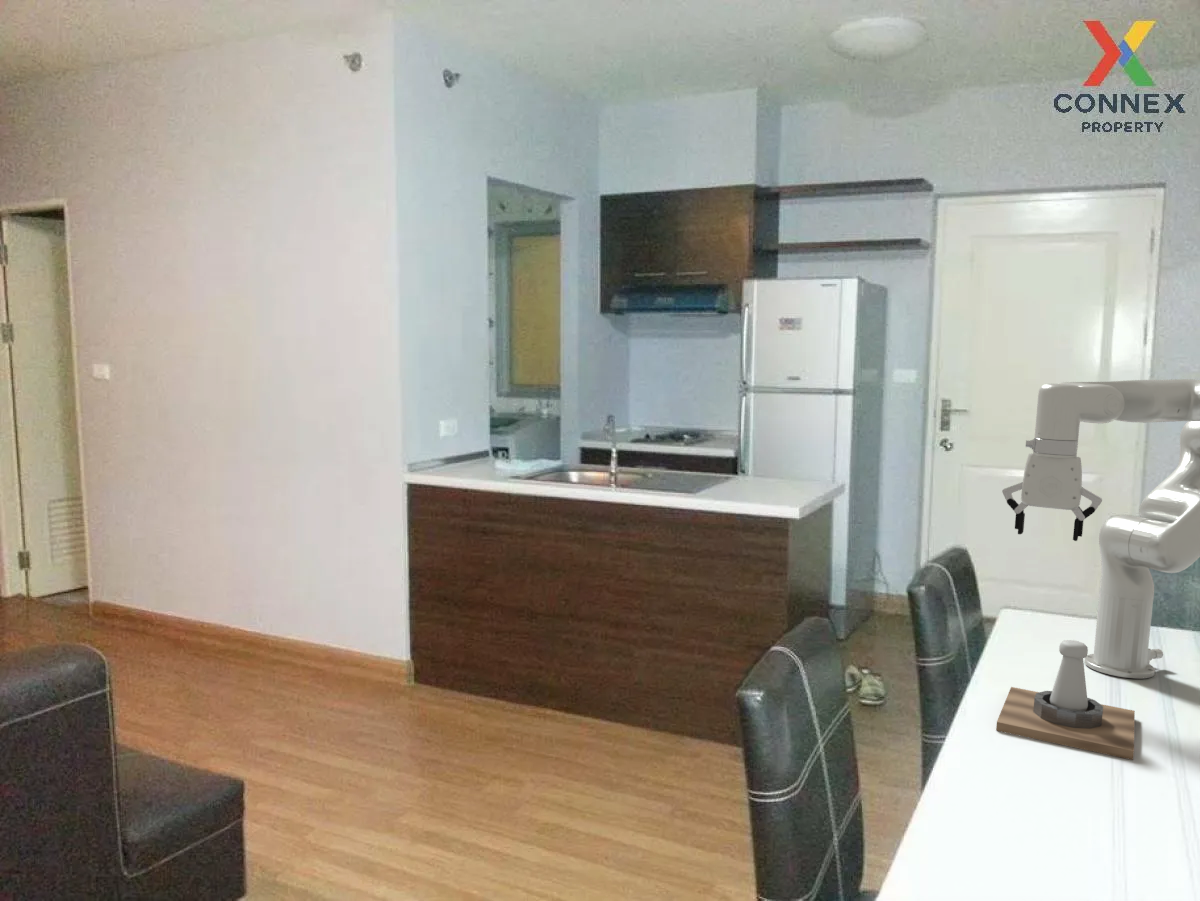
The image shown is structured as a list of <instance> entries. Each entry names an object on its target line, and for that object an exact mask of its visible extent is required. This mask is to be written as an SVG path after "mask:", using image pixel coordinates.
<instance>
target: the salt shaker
mask: <svg viewBox="0 0 1200 901" xmlns="http://www.w3.org/2000/svg"><path fill="white" fill-rule="evenodd" d="M1058 647H1059V648H1058V652H1059V653H1060V655H1062V659H1061V662H1060V665H1059V669H1058V672H1057V675H1056V678H1055V681H1054V685H1053V687H1052V690H1051V691H1052V693H1051V697H1050V703H1051V705H1053V706H1056V707H1058V708H1062V709H1067V710H1072V711H1086V709H1087V707H1088V700H1087V698H1088V693H1087V682H1086V675H1085V674H1086V673H1085V662H1084V659H1085V657H1086V656H1087V655H1089V653H1088V652H1089V649H1088V648H1089V647H1088V646H1087V645H1086V644H1085V643H1084V642H1081V641H1079V640H1075V639H1067V640H1065V639H1064V640H1062V641H1061V642H1060V643H1059V646H1058Z"/></svg>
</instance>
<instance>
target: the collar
mask: <svg viewBox="0 0 1200 901" xmlns="http://www.w3.org/2000/svg"><path fill="white" fill-rule="evenodd" d="M1038 692H1039V693H1036V695H1035V698H1034V709H1033V712H1034V713H1035V714H1036V715H1037V716H1039V717H1040V718H1041V719H1044V720H1046V721H1049V722H1051V723H1054V724H1057V725H1062V726H1067V727H1071V728H1085V729H1092V728H1096V727H1099V726H1101V724H1102V715H1103V706H1102V705H1103V704H1102V703H1099V702H1098V701H1096V700H1095V699H1093V698H1090V697H1087V700H1088V707H1087V709H1086V711H1072V710H1067V709H1062V708H1058V707H1056V706H1053V705H1051V703H1050V697H1051V693H1052V690H1044V691H1038ZM1101 704H1102V705H1101Z"/></svg>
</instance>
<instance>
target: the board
mask: <svg viewBox="0 0 1200 901" xmlns="http://www.w3.org/2000/svg"><path fill="white" fill-rule="evenodd" d="M1039 692H1040V691H1034V690H1030V689H1026V688H1025V689H1024V688H1020V687H1014V686H1011V687H1010V689H1009V691H1008V694H1007V696H1006V699H1005V701H1004V703H1003V705H1002V708H1001V710H1000V712H999V716H998V718H997V720H996V725H995V726H996V727H995V731H996V730H997V731H998V732H1001V731H1002V733H1005V732H1006V733H1005V734H1010V733H1011V734H1010V735H1016V736H1019V735H1020V736H1019V737H1023V738H1024V737H1025V738H1028V737H1029V739H1034V740H1037V741H1043V742H1048V743H1053V744H1056V745H1057V744H1058V745H1061V746H1066V747H1070V748H1075V749H1081V750H1085V751H1089V752H1094V753H1099V754H1103V755H1108V756H1113V757H1117V758H1120V759H1126V760H1131V761H1133V760H1134V755H1135V752H1134V751H1135V718H1136V717H1135V715H1136V714H1135V713H1136V712H1135V710H1133V709H1128V708H1123V707H1117V706H1111V705H1107V704H1102V703H1100V704H1101V705H1102V706H1103V715H1102V724H1101V726H1099V727H1096V728H1092V729H1085V728H1071V727H1067V726H1062V725H1057V724H1054V723H1051V722H1049V721H1046V720H1044V719H1041V718H1040V717H1039V716H1037V715H1036V714H1035V713H1034V712H1033V709H1034V698H1035V695H1036V693H1039Z"/></svg>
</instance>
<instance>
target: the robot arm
mask: <svg viewBox="0 0 1200 901" xmlns="http://www.w3.org/2000/svg"><path fill="white" fill-rule="evenodd" d="M1037 393H1038V395H1037V406H1036V417H1035V418H1036V419H1035V428H1034V438H1033V439H1031V440H1025V448H1029V449H1031V450H1032V453H1028V456H1027V458H1026V463H1025V467H1024V473H1023V480H1022V481H1021V482H1019V483H1016V484H1014V485H1013V484H1012V485H1011V486H1008V487H1006V488H1003V489H1002V492H1001V493H1002V494H1003V497H1004V499H1005V501H1006V503H1007V505H1008V506H1009V507H1010V508H1011V509H1012V511H1014V514H1015V521H1014V530H1017V535H1022V534H1023V533H1024V528H1025V518H1026V516H1025V515H1026V513H1025V512H1024V511H1025V509H1026V508H1027V507H1033V508H1034V507H1035V508H1045V509H1053V510H1066V511H1072V513H1073V514H1074V516H1075V519H1074V523H1073V525H1074V526H1073V535H1072V540H1073V541H1074V542H1078V540H1079V537H1083V531H1084V521H1085V520H1086V519H1087V518H1088V517H1090V516H1091V515H1093V514H1094V513H1095V511H1096V510H1097V509H1098V508H1099V506H1100V505H1102V502H1103V498H1102V497H1101V496H1098V495H1097V494H1095V493H1093V492H1092V491H1090V490H1088V489H1087V488H1085V487H1082V485H1083V465H1082V459H1081V457H1080V456H1078V447H1079V446H1078V445H1079V435H1080V434H1079V433H1080V426H1081V425H1080V423H1081V422H1083V423H1089V424H1098V425H1099V424H1100V425H1101V424H1108V423H1111V422H1113V421H1117V422H1125V423H1141V424H1146V423H1150V424H1151V423H1164V422H1165V423H1166V422H1175V423H1176V422H1186V423H1185V424H1184V425H1183V427H1182V428H1181V431H1180V433H1179V434H1180V435H1179V460H1178V463H1177V466H1176V468H1175V469H1174V470H1173V471H1172V472H1171V473H1170V474H1169V475H1168V476H1167V477H1165V479H1164V480H1162V481H1161V482H1160V483H1159V484H1158V485H1156V487H1154V488H1153V489H1152V490H1151V491H1150V492H1149V493H1147V495H1146V496H1145V497H1144V498H1143V500H1142V501H1141V503H1140V505H1139V509H1138V511H1139V512H1138V513H1139V515H1140V516H1137V515H1131V514H1121V515H1120V514H1118V515H1114V516H1111V517H1110V518H1108V519H1107V520H1105V521H1104V522H1103V524H1102V526H1101V528H1100V530H1099V535H1098V545H1099V553H1100V561H1101V562H1100V564H1101V565H1100V566H1101V569H1100V570H1101V571H1100V572H1101V573H1100V587H1099V596H1098V605H1097V606H1098V607H1097V615H1096V616H1097V617H1096V626H1095V627H1096V628H1095V637H1094V639H1095V640H1094V645H1093V646H1094V647H1093V653H1091V654H1087V656H1086V657H1085V658H1084V665H1086V666H1087V667H1089V668H1090V669H1092V670H1094V671H1097V672H1099V673H1102V674H1106V675H1109V676H1113V677H1119V678H1124V679H1125V678H1126V679H1140V680H1143V679H1149V678H1152V677H1154V676H1155V675H1156V674H1155V673H1156V668H1155V667H1154V666H1153V665H1151V663H1150V661H1152V660H1156V659H1161V658H1163V656H1164V651H1163V650H1162V649H1160V648H1155V649H1154V648H1153V649H1151V648H1149V645H1150V634H1151V625H1152V615H1153V605H1154V604H1153V603H1154V599H1155V598H1154V596H1155V583H1154V579H1153V576H1152V573H1151V571H1150V570H1154V571H1158V572H1162V573H1168V574H1176V573H1180V572H1183V571H1184V570H1186V569H1188V568H1189V567H1190V566H1192V565H1193V564H1194V563H1195V562H1196V561H1198V559H1199V558H1200V379H1196V378H1195V379H1193V378H1192V379H1191V378H1190V379H1188V378H1185V379H1184V378H1183V379H1182V378H1180V379H1178V378H1177V379H1176V378H1175V379H1173V378H1171V379H1133V380H1132V379H1131V380H1114V381H1070V382H1069V381H1065V382H1064V381H1063V382H1060V383H1045V384H1042V385H1041V386H1040V387H1039V389H1038V392H1037ZM1020 490H1021V498H1020V500H1021V502H1020V503H1018V502H1017V501H1016V500H1015V499H1014V497H1013V495H1012V494H1014V493H1015V492H1018V491H1020ZM1082 497H1084V498H1086V499H1088V500H1089V501H1091V503H1090V505H1089V506H1088V507H1087V508H1086V509H1084V510H1083V509H1082V508H1081V506H1080V504H1081V501H1082V500H1081V499H1082Z"/></svg>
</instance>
